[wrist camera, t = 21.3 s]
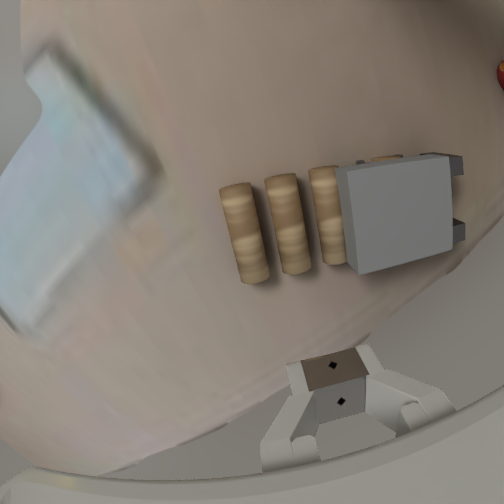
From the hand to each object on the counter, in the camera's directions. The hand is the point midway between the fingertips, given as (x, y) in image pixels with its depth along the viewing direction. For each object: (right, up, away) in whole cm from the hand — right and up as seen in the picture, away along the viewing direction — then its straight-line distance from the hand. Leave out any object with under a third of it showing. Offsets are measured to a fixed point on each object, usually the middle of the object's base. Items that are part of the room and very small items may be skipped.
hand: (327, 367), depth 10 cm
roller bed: (+7, +9, +30) cm, 32 cm away
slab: (+15, +10, +26) cm, 32 cm away
